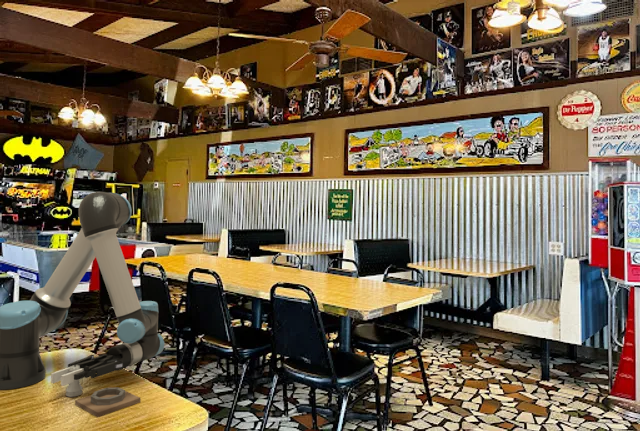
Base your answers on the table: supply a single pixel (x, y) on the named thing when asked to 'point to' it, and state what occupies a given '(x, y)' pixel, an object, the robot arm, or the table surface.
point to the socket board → (106, 407)
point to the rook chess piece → (74, 385)
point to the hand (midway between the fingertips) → (57, 379)
